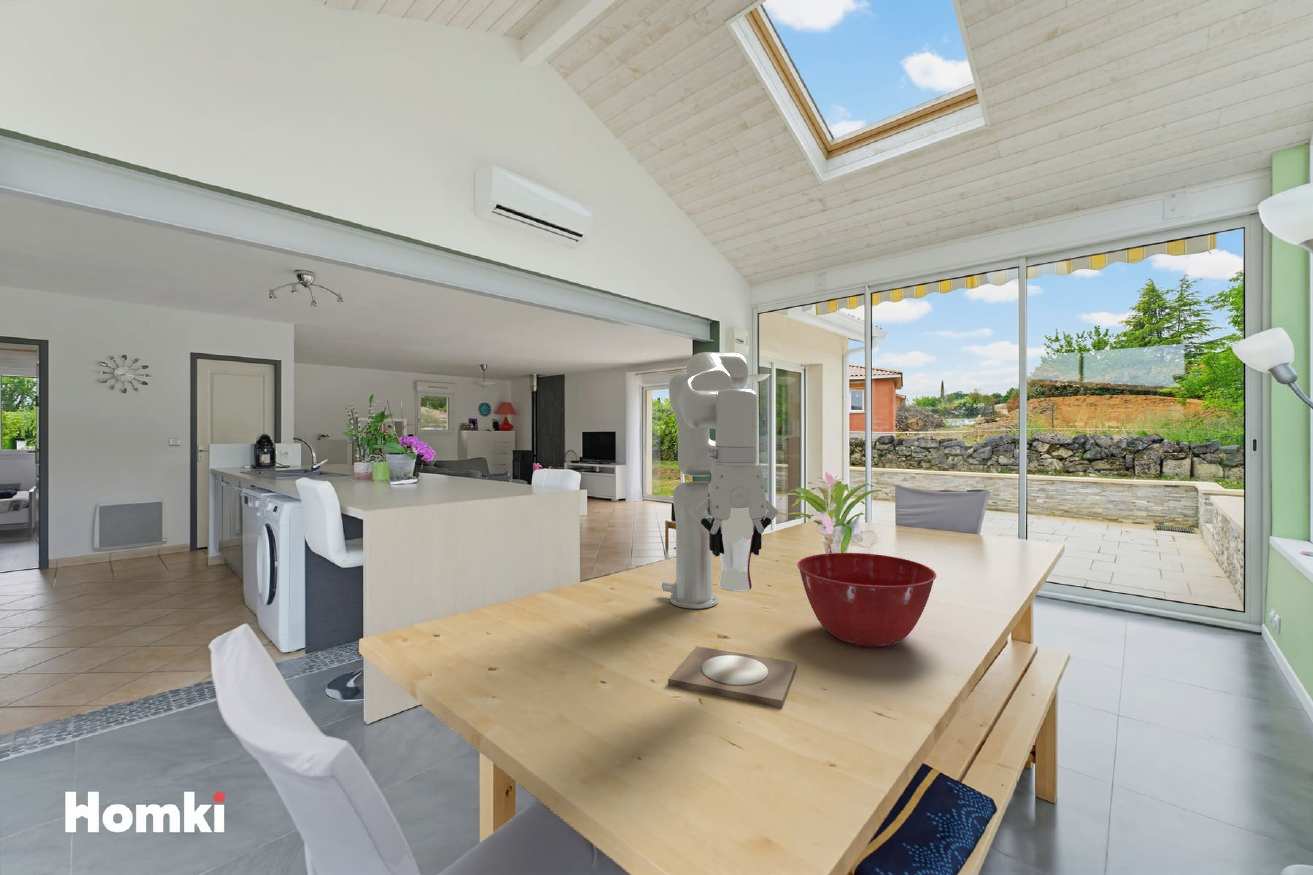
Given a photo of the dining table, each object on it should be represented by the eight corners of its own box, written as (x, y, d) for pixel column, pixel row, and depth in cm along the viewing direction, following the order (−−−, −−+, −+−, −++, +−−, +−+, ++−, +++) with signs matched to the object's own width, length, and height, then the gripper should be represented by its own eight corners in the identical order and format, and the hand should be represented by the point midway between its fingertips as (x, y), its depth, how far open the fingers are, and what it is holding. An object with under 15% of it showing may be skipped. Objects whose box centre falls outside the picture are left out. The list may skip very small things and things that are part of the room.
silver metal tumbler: (757, 583, 103) (757, 503, 103) (751, 594, 97) (751, 508, 97) (720, 580, 106) (720, 502, 105) (712, 590, 99) (712, 506, 99)
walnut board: (668, 685, 98) (668, 677, 98) (696, 651, 113) (696, 644, 113) (782, 707, 90) (782, 698, 90) (796, 668, 105) (796, 660, 105)
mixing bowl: (861, 673, 103) (862, 590, 103) (771, 623, 129) (771, 558, 129) (966, 649, 115) (967, 575, 114) (864, 608, 141) (864, 548, 140)
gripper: (693, 457, 96) (692, 560, 96) (789, 457, 98) (788, 557, 99) (685, 455, 104) (684, 550, 104) (774, 455, 106) (773, 548, 106)
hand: (735, 553), depth 101 cm, fingers closed on silver metal tumbler, 6 cm apart
